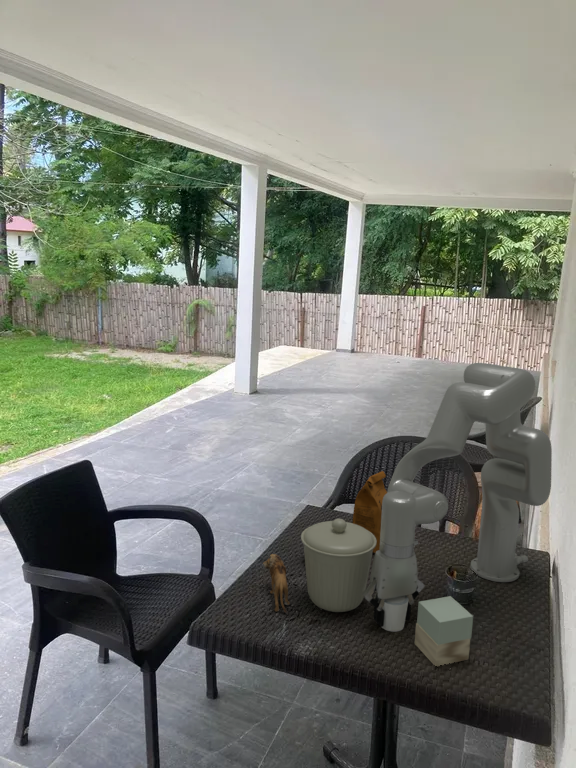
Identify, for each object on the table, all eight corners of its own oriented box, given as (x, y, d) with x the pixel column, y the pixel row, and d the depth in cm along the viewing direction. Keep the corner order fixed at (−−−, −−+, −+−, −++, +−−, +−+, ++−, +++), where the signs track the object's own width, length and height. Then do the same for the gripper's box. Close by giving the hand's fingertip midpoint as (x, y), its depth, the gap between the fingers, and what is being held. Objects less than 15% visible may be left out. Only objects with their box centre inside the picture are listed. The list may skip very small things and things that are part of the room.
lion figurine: (261, 585, 147) (261, 552, 146) (281, 582, 149) (282, 550, 147) (276, 617, 133) (277, 581, 132) (298, 614, 135) (299, 578, 133)
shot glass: (406, 635, 128) (408, 606, 127) (375, 630, 129) (377, 602, 128) (406, 618, 135) (408, 590, 133) (377, 613, 136) (378, 586, 135)
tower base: (445, 637, 128) (447, 617, 127) (468, 660, 120) (470, 638, 120) (414, 644, 125) (416, 623, 124) (435, 667, 118) (437, 645, 117)
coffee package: (395, 543, 173) (400, 473, 169) (376, 558, 163) (381, 484, 160) (366, 534, 179) (370, 466, 175) (346, 548, 169) (349, 476, 165)
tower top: (448, 616, 127) (450, 596, 126) (471, 638, 120) (473, 616, 119) (417, 622, 124) (418, 601, 124) (437, 645, 117) (439, 622, 116)
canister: (319, 574, 153) (322, 499, 150) (383, 594, 144) (388, 515, 141) (285, 606, 138) (287, 523, 134) (354, 631, 129) (359, 543, 125)
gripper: (420, 535, 135) (415, 605, 138) (354, 545, 129) (350, 618, 132) (439, 549, 128) (433, 623, 131) (370, 560, 122) (366, 637, 125)
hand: (391, 619), depth 132 cm, fingers closed on shot glass, 6 cm apart
